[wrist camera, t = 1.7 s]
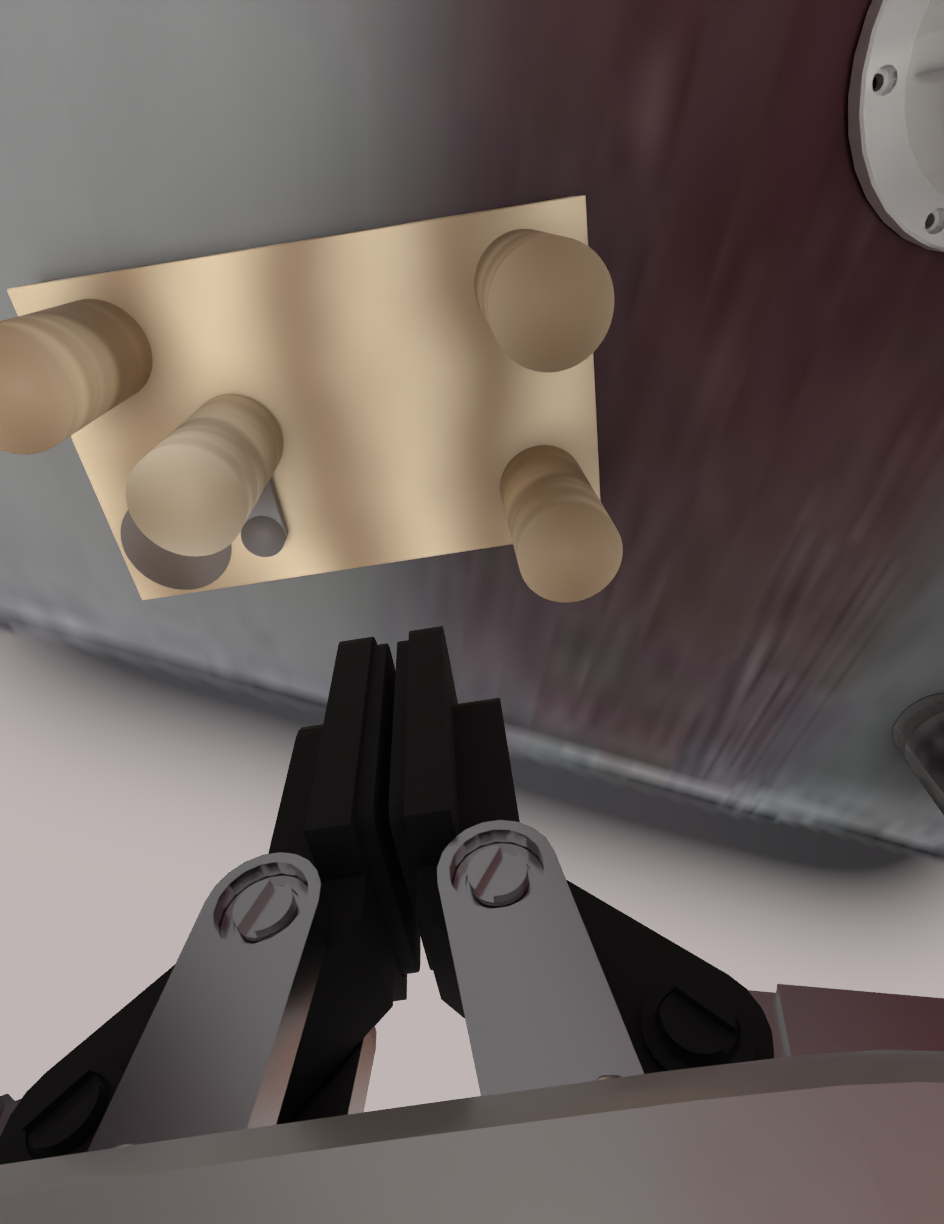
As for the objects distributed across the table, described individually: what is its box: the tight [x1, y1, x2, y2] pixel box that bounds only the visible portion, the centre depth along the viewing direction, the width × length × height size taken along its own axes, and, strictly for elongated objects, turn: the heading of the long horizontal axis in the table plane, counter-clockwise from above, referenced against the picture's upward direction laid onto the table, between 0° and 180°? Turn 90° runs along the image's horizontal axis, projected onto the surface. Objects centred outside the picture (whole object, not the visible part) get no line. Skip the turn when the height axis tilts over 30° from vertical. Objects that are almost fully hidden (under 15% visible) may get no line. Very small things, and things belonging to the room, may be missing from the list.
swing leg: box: [126, 394, 288, 557], centre depth 26 cm, size 7×4×7 cm, turn 8°
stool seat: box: [0, 196, 623, 602], centre depth 26 cm, size 21×13×10 cm, turn 98°
